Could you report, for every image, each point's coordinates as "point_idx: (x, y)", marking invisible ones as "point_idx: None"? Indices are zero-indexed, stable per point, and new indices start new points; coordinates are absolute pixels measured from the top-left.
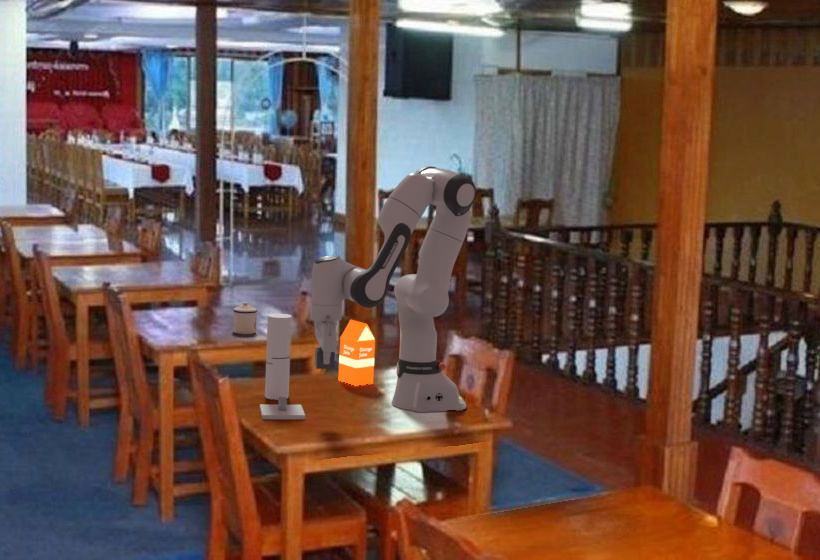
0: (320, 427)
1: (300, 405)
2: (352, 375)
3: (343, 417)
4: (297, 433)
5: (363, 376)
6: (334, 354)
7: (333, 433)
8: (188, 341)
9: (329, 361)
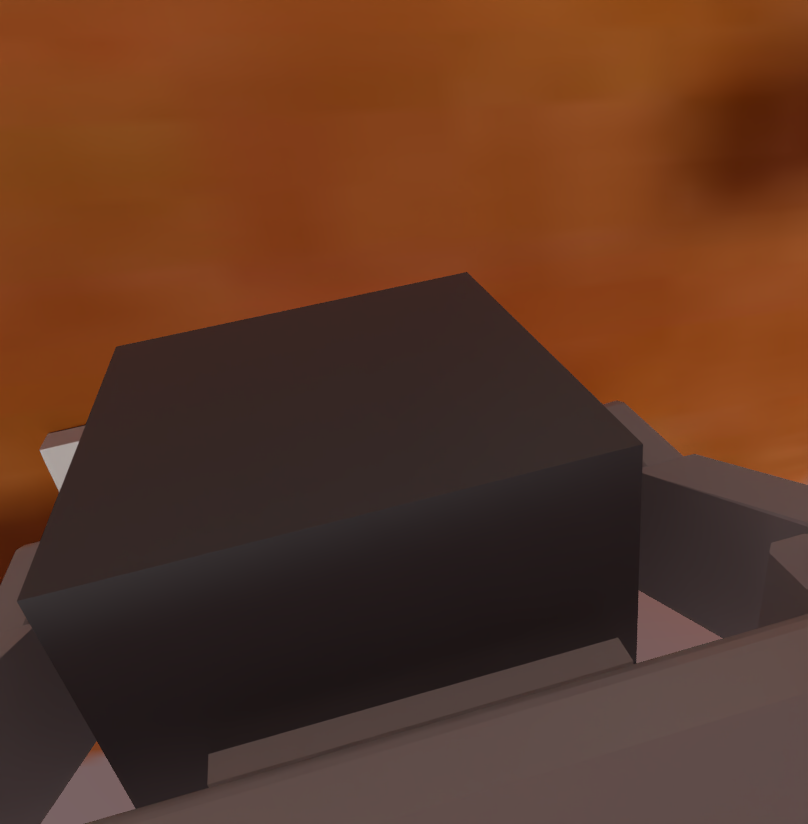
0: (569, 228)
1: (73, 450)
2: None
3: (228, 41)
4: (707, 359)
5: None
6: (595, 400)
7: (724, 116)
8: None
9: (640, 420)
